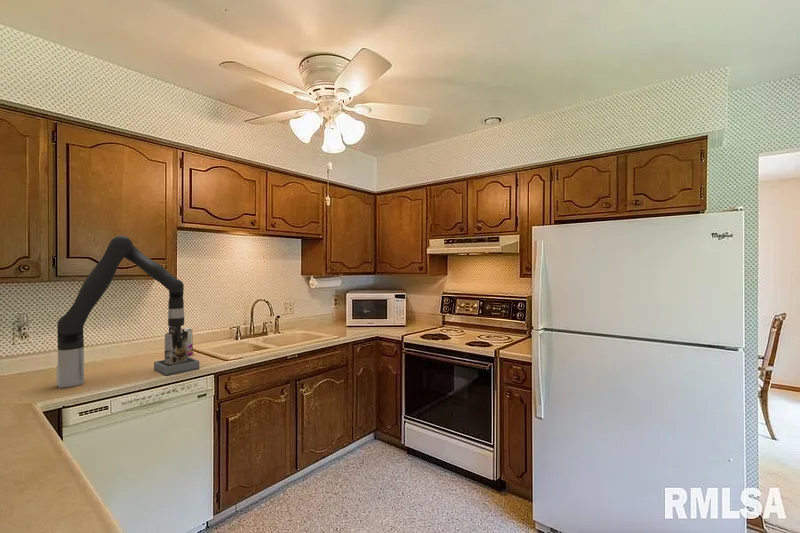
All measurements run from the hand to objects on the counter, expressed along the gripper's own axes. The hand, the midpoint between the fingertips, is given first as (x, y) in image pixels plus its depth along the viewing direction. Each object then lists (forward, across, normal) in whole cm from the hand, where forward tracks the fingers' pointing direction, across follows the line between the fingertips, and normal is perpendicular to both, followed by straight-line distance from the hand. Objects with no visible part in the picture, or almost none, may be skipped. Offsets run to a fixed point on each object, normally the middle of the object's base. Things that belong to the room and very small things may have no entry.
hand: (176, 347), depth 200 cm
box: (+12, 0, 0) cm, 12 cm away
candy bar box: (+12, -28, +14) cm, 34 cm away
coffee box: (+8, 0, 0) cm, 8 cm away
